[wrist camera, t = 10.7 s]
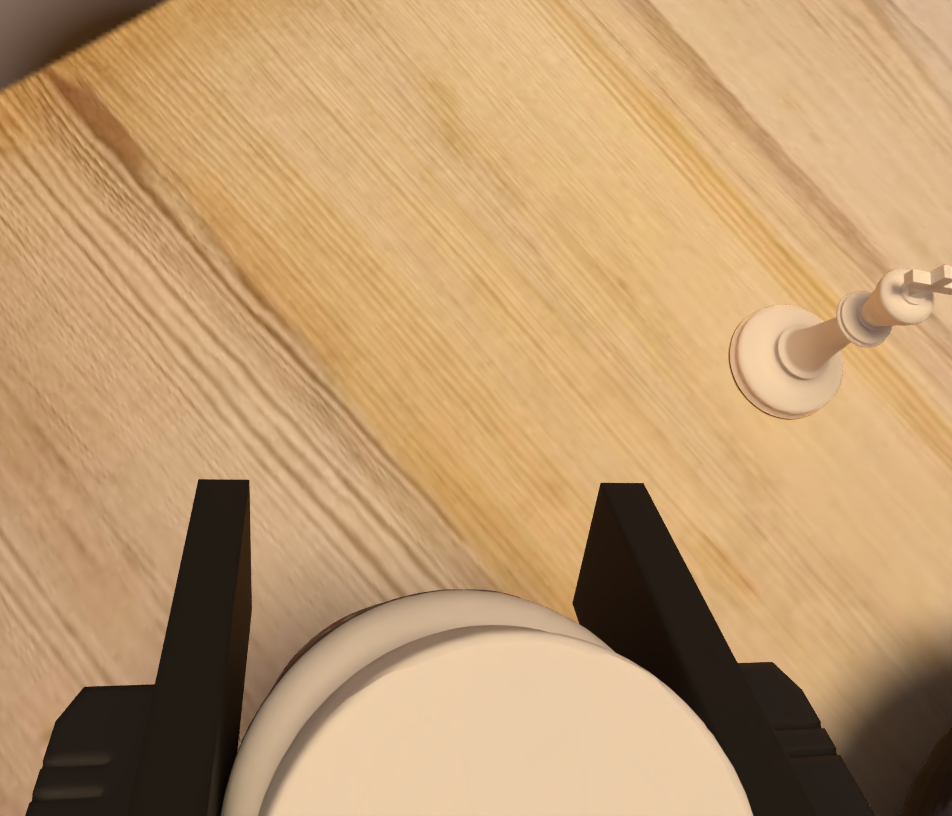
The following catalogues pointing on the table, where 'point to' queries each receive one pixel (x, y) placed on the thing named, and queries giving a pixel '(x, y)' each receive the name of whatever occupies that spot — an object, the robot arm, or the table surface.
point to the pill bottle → (474, 722)
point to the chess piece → (824, 340)
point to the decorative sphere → (933, 783)
